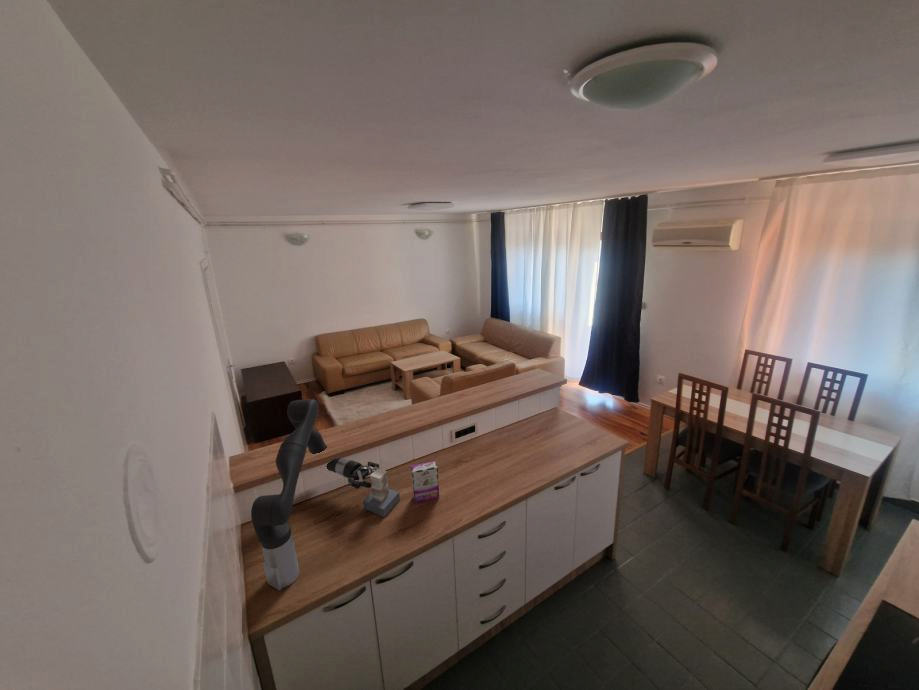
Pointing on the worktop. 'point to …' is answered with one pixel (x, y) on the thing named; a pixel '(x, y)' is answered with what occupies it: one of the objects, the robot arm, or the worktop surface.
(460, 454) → the worktop surface
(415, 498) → the candy bar box
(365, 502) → the charcoal plinth
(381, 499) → the cream block
